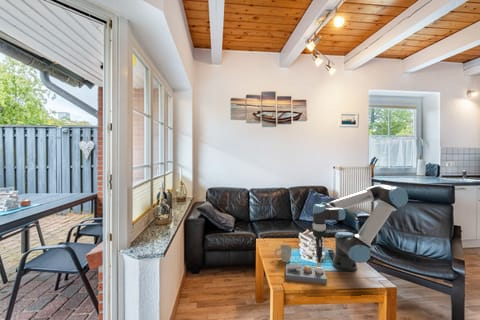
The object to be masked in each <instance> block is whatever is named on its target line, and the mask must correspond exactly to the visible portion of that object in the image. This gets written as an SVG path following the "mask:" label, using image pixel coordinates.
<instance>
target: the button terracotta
mask: <svg viewBox="0 0 480 320" xmlns="http://www.w3.org/2000/svg"><path fill="white" fill-rule="evenodd" d="M303 266H304V272H305V273H311V267H312V266H311V265H308V264H305V265H303Z"/></svg>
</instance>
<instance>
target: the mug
mask: <svg viewBox="0 0 480 320" xmlns="http://www.w3.org/2000/svg"><path fill="white" fill-rule="evenodd" d="M292 249H293V247H292V246H291V245H289V244H281V245H280V246H279V248H276V249H275V250H274V255H275V256H276V257H277V258H280V259H281V261H282V262H283V263H290V262H291V256H292V251H293V250H292ZM278 251H280V255H278V254H277V252H278ZM289 261H290V262H289Z"/></svg>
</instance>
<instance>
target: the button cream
mask: <svg viewBox="0 0 480 320" xmlns="http://www.w3.org/2000/svg"><path fill="white" fill-rule="evenodd" d="M315 267H316V274H319V275H322V274H323V268H324V267H322V266H321V267H317V265H316V266H315Z"/></svg>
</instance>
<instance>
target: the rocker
mask: <svg viewBox="0 0 480 320" xmlns="http://www.w3.org/2000/svg"><path fill="white" fill-rule="evenodd" d="M301 266H302V263H301V262H297V263H288V269H289V270H292V269H301Z"/></svg>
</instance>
